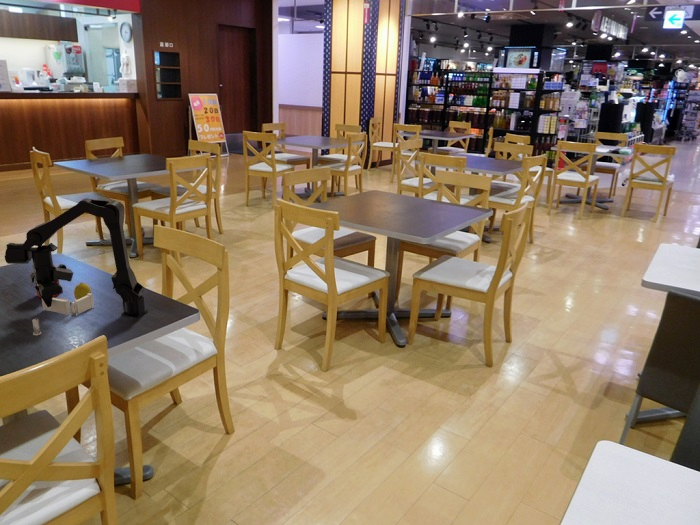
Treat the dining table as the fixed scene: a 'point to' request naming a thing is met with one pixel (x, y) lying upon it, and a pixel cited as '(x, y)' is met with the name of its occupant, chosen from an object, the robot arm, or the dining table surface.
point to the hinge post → (72, 309)
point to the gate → (58, 306)
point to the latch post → (36, 327)
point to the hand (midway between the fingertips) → (49, 306)
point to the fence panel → (84, 303)
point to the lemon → (81, 290)
